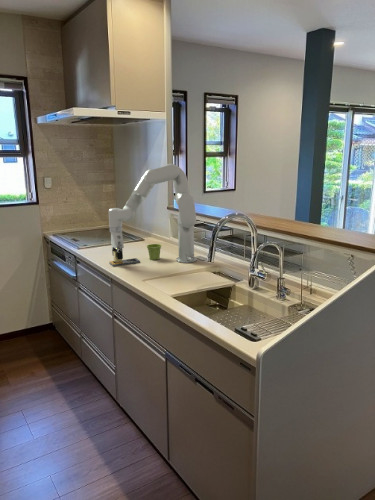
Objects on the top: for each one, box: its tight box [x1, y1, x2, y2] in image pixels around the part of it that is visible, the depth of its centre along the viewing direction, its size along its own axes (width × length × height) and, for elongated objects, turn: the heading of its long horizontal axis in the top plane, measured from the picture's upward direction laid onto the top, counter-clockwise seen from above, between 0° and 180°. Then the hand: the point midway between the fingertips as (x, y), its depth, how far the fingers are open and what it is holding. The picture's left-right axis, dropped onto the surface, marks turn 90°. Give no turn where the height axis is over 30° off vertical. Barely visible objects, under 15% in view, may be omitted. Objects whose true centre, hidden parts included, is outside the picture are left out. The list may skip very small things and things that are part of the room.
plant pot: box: [146, 243, 162, 261], centre depth 253 cm, size 9×9×9 cm
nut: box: [112, 251, 123, 264], centre depth 243 cm, size 4×4×8 cm
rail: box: [109, 257, 141, 267], centre depth 245 cm, size 17×7×1 cm, turn 117°
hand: (117, 257), depth 242 cm, fingers open, 9 cm apart
